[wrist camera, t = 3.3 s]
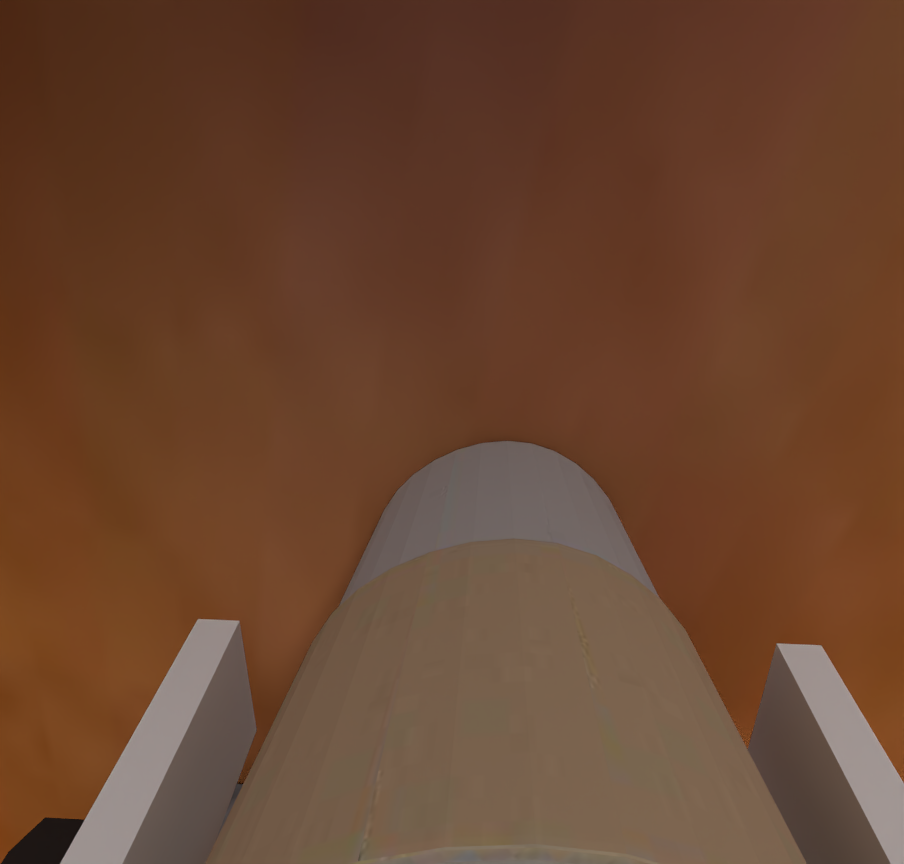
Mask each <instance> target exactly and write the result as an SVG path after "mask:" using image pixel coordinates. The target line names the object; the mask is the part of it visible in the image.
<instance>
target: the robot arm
mask: <svg viewBox="0 0 904 864" xmlns="http://www.w3.org/2000/svg"><path fill="white" fill-rule="evenodd" d="M256 731H257V729H256V722H255V716H254V710H253V703H252V697H251V691H250V684H249V678H248V672H247V665H246V659H245V652H244V646H243V640H242V633H241V627H240V621H234V620H210V619H198V620H197V621H196V623H195V625H194V627H193V628H192V630H191V632H190V634H189V636H188V637H187V639H186V641H185V643H184V644H183V646H182V648H181V650H180V652H179V653H178V655H177V657H176V659H175V660H174V662H173V664H172V666H171V668H170V669H169V671H168V673H167V675H166V676H165V678H164V680H163V682H162V684H161V685H160V687H159V689H158V691H157V692H156V694H155V696H154V698H153V699H152V701H151V703H150V705H149V707H148V708H147V710H146V712H145V714H144V715H143V717H142V719H141V721H140V723H139V724H138V726H137V728H136V730H135V731H134V733H133V735H132V737H131V739H130V740H129V742H128V744H127V746H126V747H125V749H124V751H123V753H122V755H121V756H120V758H119V760H118V762H117V763H116V765H115V767H114V769H113V771H112V772H111V774H110V776H109V778H108V779H107V781H106V783H105V785H104V787H103V788H102V790H101V792H100V794H99V795H98V797H97V799H96V801H95V802H94V804H93V806H92V808H91V810H90V811H89V813H88V815H87V817H86V818H85V820H79V819H61V818H44V819H43V820H42V821H41V822H40V823H39V824H38V825H37V826H36V827H35V828H34V829H32V830H31V831H30V832H29V833H28V834H27V835H26V836H25V837H24V838H23V839H22V840H21V841H20V842H19V843H18V844H17V845H15V846H14V847H13V848H12V849H11V850H10V851H9V852H8V854H7V855H6V857H5V858H4V860H3V862H2V863H1V864H205V862H206V860H207V858H208V856H209V854H210V852H211V850H212V848H213V846H214V844H215V841H216V838H217V836H218V833H219V830H220V827H221V825H222V822H223V819H224V817H225V814H226V811H227V809H228V806H229V803H230V801H231V798H232V795H233V793H234V790H235V787H236V784H237V782H238V779H239V776H240V774H241V771H242V768H243V766H244V763H245V760H246V758H247V755H248V752H249V749H250V747H251V744H252V741H253V739H254V736H255V733H256ZM748 752H749V753H750V755H751V757H752V759H753V761H754V763H755V765H756V767H757V769H758V771H759V773H760V775H761V777H762V778H763V780H764V782H765V784H766V786H767V788H768V790H769V792H770V794H771V796H772V798H773V800H774V802H775V803H776V805H777V807H778V809H779V811H780V813H781V815H782V817H783V819H784V821H785V823H786V825H787V827H788V828H789V830H790V832H791V834H792V836H793V838H794V840H795V842H796V844H797V846H798V848H799V850H800V852H801V854H802V855H803V857H804V859H805V861H806V863H807V864H904V783H903V781H902V779H901V778H900V776H899V774H898V773H897V771H896V769H895V768H894V766H893V764H892V763H891V761H890V759H889V758H888V756H887V754H886V753H885V751H884V749H883V748H882V746H881V744H880V743H879V741H878V739H877V738H876V736H875V734H874V733H873V731H872V729H871V728H870V726H869V724H868V723H867V721H866V719H865V718H864V716H863V714H862V713H861V711H860V709H859V708H858V706H857V704H856V703H855V701H854V699H853V698H852V696H851V694H850V692H849V691H848V689H847V687H846V686H845V684H844V682H843V681H842V679H841V677H840V676H839V674H838V672H837V671H836V669H835V667H834V666H833V664H832V662H831V661H830V659H829V657H828V656H827V654H826V652H825V651H824V649H823V647H822V646H821V645H801V644H776V647H775V651H774V655H773V658H772V662H771V666H770V669H769V673H768V677H767V681H766V684H765V688H764V692H763V695H762V699H761V703H760V706H759V710H758V714H757V717H756V721H755V725H754V728H753V732H752V736H751V739H750V743H749V747H748Z"/></svg>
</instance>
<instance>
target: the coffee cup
mask: <svg viewBox="0 0 904 864" xmlns="http://www.w3.org/2000/svg"><path fill="white" fill-rule="evenodd" d="M205 864H807V863H806V861H805V859H804V857H803V855H802V854H801V852H800V850H799V848H798V846H797V844H796V842H795V840H794V838H793V836H792V834H791V832H790V830H789V828H788V827H787V825H786V823H785V821H784V819H783V817H782V815H781V813H780V811H779V809H778V807H777V805H776V803H775V802H774V800H773V798H772V796H771V794H770V792H769V790H768V788H767V786H766V784H765V782H764V780H763V778H762V777H761V775H760V773H759V771H758V769H757V767H756V765H755V763H754V761H753V759H752V757H751V755H750V753H749V752H748V750H747V748H746V746H745V744H744V742H743V740H742V738H741V736H740V734H739V732H738V730H737V728H736V727H735V725H734V723H733V721H732V719H731V717H730V715H729V713H728V711H727V709H726V707H725V705H724V703H723V701H722V700H721V698H720V696H719V694H718V692H717V690H716V688H715V686H714V684H713V682H712V680H711V678H710V676H709V675H708V673H707V671H706V669H705V667H704V665H703V663H702V661H701V659H700V657H699V655H698V653H697V651H696V650H695V648H694V646H693V644H692V642H691V640H690V638H689V636H688V634H687V632H686V630H685V629H684V628H683V626H682V625H681V624H680V623H679V621H678V620H677V619H676V618H675V616H674V615H673V614H672V613H671V611H670V610H669V609H668V608H667V606H666V605H665V604H664V603H663V601H662V600H661V599H660V598H659V596H658V594H657V592H656V590H655V588H654V586H653V584H652V582H651V580H650V578H649V576H648V574H647V573H646V571H645V569H644V567H643V565H642V563H641V561H640V559H639V557H638V555H637V553H636V551H635V549H634V547H633V545H632V543H631V541H630V539H629V537H628V535H627V533H626V531H625V529H624V527H623V525H622V523H621V521H620V519H619V517H618V515H617V513H616V511H615V509H614V508H613V506H612V504H611V502H610V500H609V498H608V497H607V496H606V494H605V493H604V492H603V490H602V489H601V488H600V487H599V485H598V484H597V483H596V481H595V480H594V479H593V478H592V477H591V476H590V475H588V474H587V473H586V472H585V471H584V470H583V469H582V468H580V467H579V466H578V465H577V464H576V463H574V462H573V461H571V460H569V459H567V458H566V457H564V456H562V455H561V454H559V453H557V452H555V451H553V450H550V449H547V448H544V447H541V446H538V445H535V444H532V443H524V442H514V441H499V442H488V443H480V444H476V445H473V446H469V447H465V448H462V449H458V450H456V451H453V452H451V453H449V454H447V455H445V456H442V457H440V458H438V459H436V460H434V461H432V462H431V463H429V464H428V465H426V466H425V467H423V468H422V469H420V470H419V471H418V472H416V473H415V474H413V475H412V476H411V477H410V478H409V479H408V480H407V481H406V482H405V483H404V484H403V485H402V486H401V487H400V488H399V489H398V490H397V492H396V493H395V494H394V496H393V497H392V499H391V500H390V502H389V503H388V505H387V506H386V508H385V510H384V511H383V514H382V516H381V518H380V520H379V522H378V524H377V526H376V528H375V530H374V533H373V535H372V537H371V539H370V541H369V543H368V545H367V547H366V549H365V552H364V554H363V556H362V558H361V560H360V562H359V564H358V566H357V568H356V571H355V573H354V575H353V577H352V579H351V581H350V583H349V585H348V587H347V590H346V592H345V594H344V596H343V598H342V600H341V602H340V604H339V606H338V608H337V609H336V610H335V611H333V612H332V614H331V615H330V617H329V618H328V620H327V621H326V623H325V624H324V625H323V627H322V628H321V630H320V631H319V633H318V634H317V636H316V637H315V639H314V640H313V642H312V644H311V646H310V648H309V650H308V652H307V654H306V656H305V658H304V660H303V662H302V664H301V666H300V668H299V670H298V672H297V675H296V677H295V679H294V681H293V683H292V685H291V687H290V689H289V691H288V693H287V695H286V697H285V699H284V701H283V703H282V705H281V708H280V710H279V712H278V714H277V716H276V718H275V720H274V722H273V724H272V726H271V728H270V730H269V732H268V734H267V736H266V738H265V741H264V743H263V745H262V747H261V749H260V751H259V753H258V755H257V757H256V759H255V761H254V763H253V765H252V767H251V769H250V771H249V774H248V776H247V778H246V780H245V782H244V784H243V786H242V788H241V790H240V792H239V794H238V796H237V798H236V800H235V802H234V804H233V807H232V809H231V811H230V813H229V815H228V817H227V819H226V821H225V823H224V825H223V827H222V829H221V831H220V833H219V835H218V837H217V839H216V842H215V844H214V846H213V848H212V850H211V852H210V854H209V856H208V858H207V860H206V862H205Z"/></svg>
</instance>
